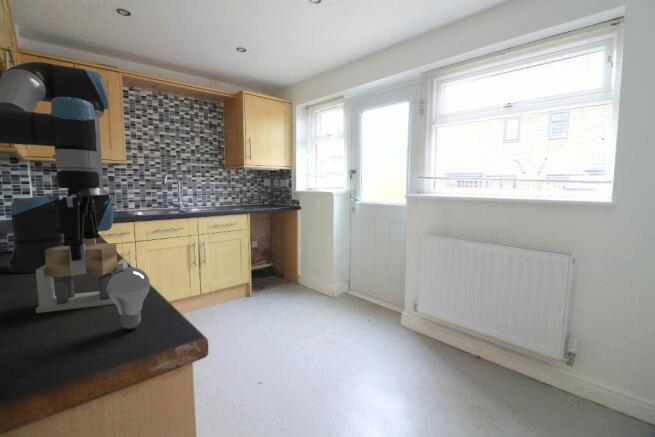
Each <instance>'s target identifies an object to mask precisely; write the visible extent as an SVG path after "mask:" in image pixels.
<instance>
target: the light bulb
mask: <svg viewBox="0 0 655 437" xmlns="http://www.w3.org/2000/svg"><path fill="white" fill-rule="evenodd" d="M150 288H151V281H150V278H149V275H148V274H147V273H146V272H145V271H144V270H143V269H141V268H137V267H133V266H131V267H130V266H127V268H123V269H120V270H119V271H117V270H116V271H115V272H113V275H112V276H111V278H110V279H109V281H108V284H107V294H108V296H109V298H110V299H111V300H112V301H113V302H114V303H115V304H114V305H115V306H116V308H117V312H118V314H119V315H120V326H122V327H123V328H124V329H126V330H129V331H133V330H135V329H136V328H137V327H138V326H139V324H140V323H141V321H142V315H141V313H142V312H141V311H142V309H143V304H144V301H145V299H146V297H147V295H148V294H149V291H150Z"/></svg>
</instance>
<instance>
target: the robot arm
mask: <svg viewBox="0 0 655 437" xmlns="http://www.w3.org/2000/svg"><path fill="white" fill-rule="evenodd" d="M39 102H46V103H51V104H50V106H51V110H50V113H46V112H36V109H37V106H38V103H39ZM109 105H110V104H109V101H108V94H107V88H106V84H105V81H104V77H103V75H102V74H101V73H99V72H97V71H94V70H89V69H86V68H79V67H73V66H66V65H60V64H55V63H49V62H43V61H29V62H24V63H19V64H17V65H13V66H11V67H9V68H8V69H6V70H5V71H4V72H3V73H2V75H1V76H0V144H3V145H4V144H5V145H23V146H25V145H26V146H41V147H42V146H43V147H45V146H46V147H54V154H52V156H51V158H52V159H54V160H55V167H56V168H57V169H59V170H58V171H57V172H55V173H56V174H55V175H56V185H57V187H58V188H59V189H67V190H68V191H67V194H66V196H63V197H62V198H61V197H60V196H59V195H58V194H51V195H43V196H33V197H24V198H18V199H15V200H13V201H12V202H11V205H10V216H11V223H12V234H13V236H12V237H13V244H14V245H13V249H12V253H11V255H10V258H9V261H8V264H7V265H8V272H10V273H13V274H27V273H30V274H31V273H36V270H37V269H39V268H40V267H42V266H44V265H46V258H45V250H46V249H50V248H53V247H56V246H60V245H63V246H69V257H70V270H71V275H82V274H87V266H86V252H85V245H83V244H97V239H100V237H101V234H100V233H99V232H107V231H110V230H111V229H112V227H113V224H114V223H113V222H114V211H115V199H114V198H112V197H110V193H109V192H108V191H107V190H105V188H104V177H103V176H104V175H103V174H104V172H103V161H102V160H103V159H102V158H103V157H102V145H101V144H102V143H101V131H100V130H101V128H100V118H101V117H103V116H104V115H105V110H109V109H110V107H109Z"/></svg>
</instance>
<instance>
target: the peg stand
mask: <svg viewBox="0 0 655 437" xmlns="http://www.w3.org/2000/svg"><path fill="white" fill-rule="evenodd" d="M127 267H128V259H127V258H122V259H120V260H119V261H117V268H116V272H117V271H119V270H120V269H123V268H127ZM113 274H114V271H110V272H108V273H106V274H104V275H101V276H99V277H98V288H99V290H98V291H91V292H79V293H75V285H74V284H75V283H74V276H62V277H61V279H60V280H59V279H58V280H56V281H55V280H54V277H47V272H46V265H44V266H42V267H40V268H39V269H37V270H36V272H35V275H36V276H35V277H36V286H37V298H38V306H37V307H36V308H35V312H36V314H38V313H47V312H56V311H65V310H72V309H73V310H74V309H81V308H91V307H98V306H99V307H101V306H106V305H107V306H108V305H109V306H110V305H115V303H114V302H113V301H112V300H111V299H110V298H109V296H108V294H107V284H108V281H109V279H110V278H111V276H112V275H113Z"/></svg>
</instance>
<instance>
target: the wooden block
mask: <svg viewBox="0 0 655 437" xmlns="http://www.w3.org/2000/svg"><path fill="white" fill-rule="evenodd" d="M83 245H85V252H86V266H87V274H82V275H71V270H70V257H69V246H63V245H60V246H56V247H53V248H50V249H46V250H45V258H46V272H47V277H53V278H55V277H61V278H62V276H73V277H84V276H85V277H91V276H92V277H93V276H103V275H104V274H106V273H108V272H113V271H114V270H115V269H117V263H118V255H117V254H118V251H117V242H115V243H113V242H112V243H109V242H108V243H105V242H103V243H102V242H101V243H96V244H83Z"/></svg>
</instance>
